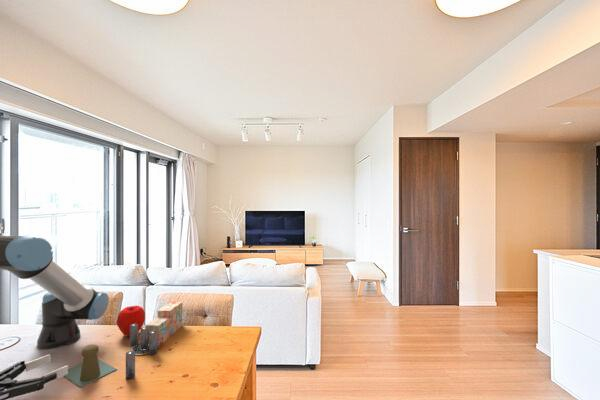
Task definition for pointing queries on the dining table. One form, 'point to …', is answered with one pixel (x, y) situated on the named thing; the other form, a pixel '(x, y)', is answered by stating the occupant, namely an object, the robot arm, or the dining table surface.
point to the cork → (90, 363)
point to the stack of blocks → (166, 321)
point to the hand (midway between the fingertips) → (58, 363)
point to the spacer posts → (144, 345)
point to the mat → (75, 373)
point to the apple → (130, 318)
